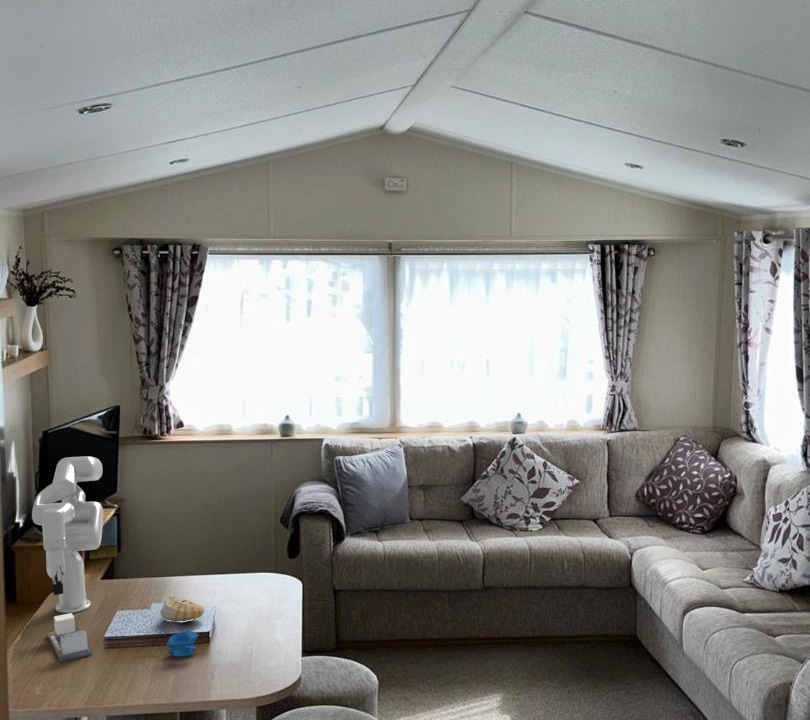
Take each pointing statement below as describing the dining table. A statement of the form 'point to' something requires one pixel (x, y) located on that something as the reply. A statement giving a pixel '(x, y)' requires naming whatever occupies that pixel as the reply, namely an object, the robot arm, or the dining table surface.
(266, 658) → the dining table surface
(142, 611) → the dining table surface
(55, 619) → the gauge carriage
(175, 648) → the blue double-lobed piece
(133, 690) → the dining table surface
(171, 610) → the nautilus
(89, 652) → the gauge bench
